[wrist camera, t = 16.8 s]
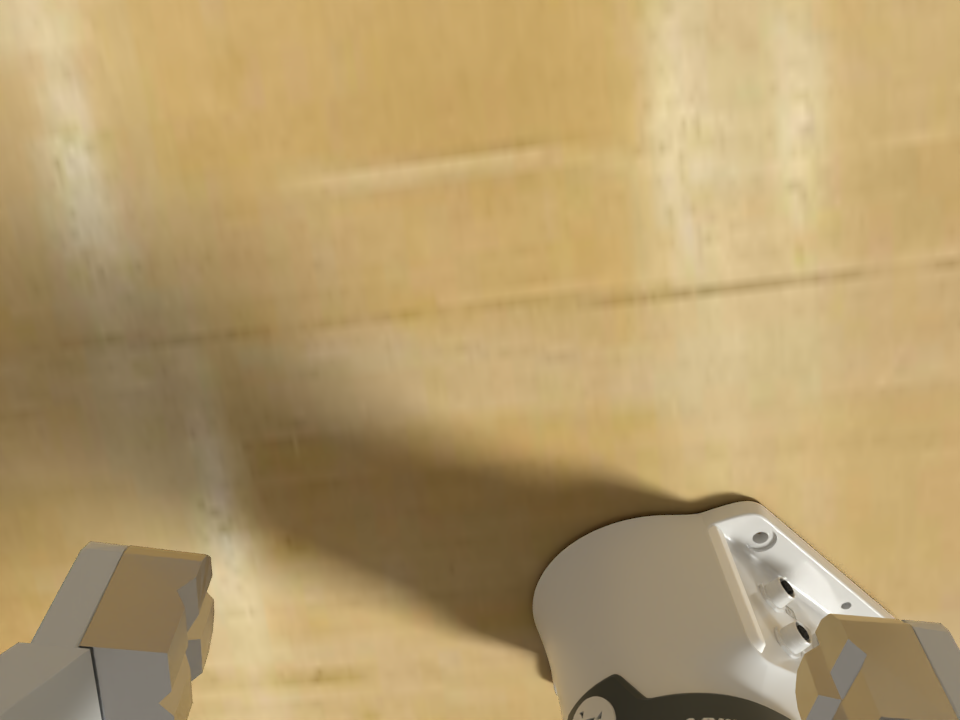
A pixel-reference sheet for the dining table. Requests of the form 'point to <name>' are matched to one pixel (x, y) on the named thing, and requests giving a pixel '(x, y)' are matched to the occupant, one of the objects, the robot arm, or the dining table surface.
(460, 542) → the dining table surface
